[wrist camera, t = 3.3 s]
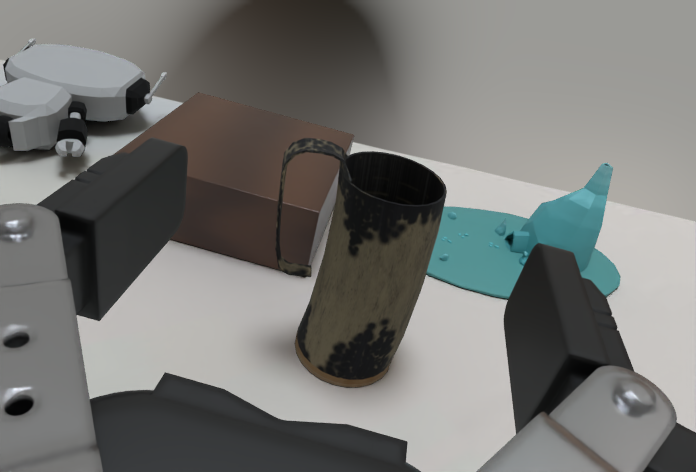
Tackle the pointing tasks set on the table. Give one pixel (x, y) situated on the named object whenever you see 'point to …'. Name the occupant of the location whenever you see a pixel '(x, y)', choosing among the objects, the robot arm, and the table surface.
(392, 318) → the mug
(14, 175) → the table surface
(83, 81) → the robot toy
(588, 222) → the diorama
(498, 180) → the table surface
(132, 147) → the walnut block
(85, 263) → the robot arm
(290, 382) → the table surface
